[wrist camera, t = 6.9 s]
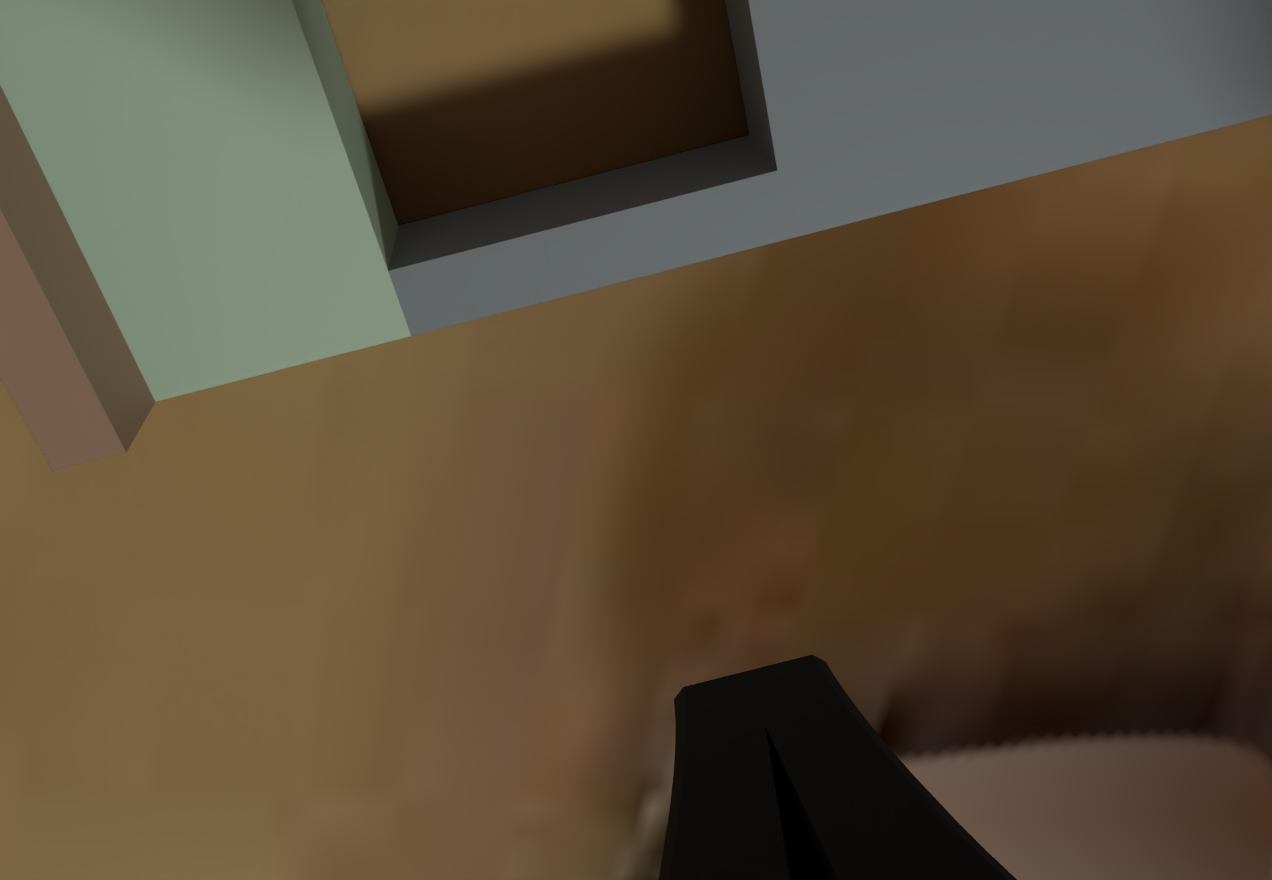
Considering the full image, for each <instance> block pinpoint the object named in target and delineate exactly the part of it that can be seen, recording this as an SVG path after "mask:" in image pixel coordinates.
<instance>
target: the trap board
mask: <svg viewBox="0 0 1272 880" xmlns="http://www.w3.org/2000/svg"><path fill="white" fill-rule="evenodd" d="M725 3H726V9H727V14H728V20H729V25H730V31H731V37H732V42H733V48H734V53H735V59H736V64H737V70H738V75H739V81H740V86H741V92H742V97H743V103H744V108H745V114H746V120H747V125H748V131H749V135H748V136H744V137H740V138H736V139H732V140H728V141H724V142H720V143H717V144H713V145H709V146H705V147H701V148H697V149H693V150H690V151H686V152H682V153H678V154H674V155H670V156H666V157H662V158H659V159H655V160H651V161H647V162H643V163H639V164H635V165H631V166H628V167H624V168H620V169H616V170H612V171H608V172H604V173H601V174H597V175H593V176H589V177H585V178H581V179H577V180H573V181H570V182H566V183H562V184H558V185H554V186H550V187H546V188H543V189H539V190H535V191H531V192H527V193H523V194H519V195H515V196H512V197H508V198H504V199H500V200H496V201H492V202H488V203H485V204H481V205H477V206H473V207H469V208H465V209H461V210H457V211H454V212H450V213H446V214H442V215H438V216H434V217H430V218H426V219H423V220H419V221H415V222H411V223H407V224H403V225H399V226H398V223H397V220H396V217H395V214H394V211H393V208H392V206H391V203H390V200H389V197H388V194H387V191H386V188H385V185H384V182H383V179H382V176H381V174H380V171H379V168H378V165H377V162H376V159H375V156H374V153H373V150H372V147H371V144H370V142H369V139H368V136H367V133H366V130H365V127H364V124H363V121H362V118H361V115H360V112H359V109H358V107H357V104H356V101H355V98H354V95H353V92H352V89H351V86H350V83H349V80H348V77H347V75H346V72H345V69H344V66H343V63H342V60H341V57H340V54H339V51H338V48H337V45H336V43H335V40H334V37H333V34H332V31H331V28H330V25H329V22H328V19H327V16H326V13H325V11H324V8H323V5H322V2H321V0H0V378H1V380H2V382H3V384H4V386H5V387H6V389H7V391H8V393H9V395H10V396H11V398H12V400H13V402H14V404H15V405H16V407H17V409H18V411H19V412H20V414H21V416H22V418H23V420H24V421H25V423H26V425H27V427H28V429H29V430H30V432H31V434H32V436H33V438H34V439H35V441H36V443H37V445H38V447H39V448H40V450H41V452H42V454H43V455H44V457H45V459H46V461H47V463H48V464H49V466H50V468H51V470H52V472H53V471H56V470H60V469H64V468H68V467H72V466H76V465H80V464H84V463H88V462H92V461H95V460H99V459H103V458H107V457H111V456H115V455H119V454H123V453H126V452H127V450H128V449H129V447H130V445H131V443H132V442H133V440H134V438H135V436H136V435H137V433H138V431H139V429H140V428H141V426H142V424H143V422H144V421H145V419H146V417H147V415H148V414H149V412H150V410H151V409H152V407H153V405H154V403H155V402H156V401H160V400H164V399H168V398H172V397H176V396H179V395H183V394H187V393H191V392H195V391H199V390H203V389H207V388H211V387H214V386H218V385H222V384H226V383H230V382H234V381H238V380H242V379H246V378H250V377H253V376H257V375H261V374H265V373H269V372H273V371H277V370H281V369H285V368H288V367H292V366H296V365H300V364H304V363H308V362H312V361H316V360H320V359H323V358H327V357H331V356H335V355H339V354H343V353H347V352H351V351H355V350H358V349H362V348H366V347H370V346H374V345H378V344H382V343H386V342H390V341H393V340H397V339H401V338H405V337H409V336H413V335H417V334H421V333H425V332H428V331H432V330H436V329H440V328H444V327H448V326H452V325H456V324H460V323H463V322H467V321H471V320H475V319H479V318H483V317H487V316H491V315H495V314H498V313H502V312H506V311H510V310H514V309H518V308H522V307H526V306H530V305H533V304H537V303H541V302H545V301H549V300H553V299H557V298H561V297H565V296H568V295H572V294H576V293H580V292H584V291H588V290H592V289H596V288H600V287H603V286H607V285H611V284H615V283H619V282H623V281H627V280H631V279H635V278H638V277H642V276H646V275H650V274H654V273H658V272H662V271H666V270H670V269H673V268H677V267H681V266H685V265H689V264H693V263H697V262H701V261H705V260H708V259H712V258H716V257H720V256H724V255H728V254H732V253H736V252H740V251H743V250H747V249H751V248H755V247H759V246H763V245H767V244H771V243H775V242H778V241H782V240H786V239H790V238H794V237H798V236H802V235H806V234H810V233H813V232H817V231H821V230H825V229H829V228H833V227H837V226H841V225H845V224H848V223H852V222H856V221H860V220H864V219H868V218H872V217H876V216H880V215H883V214H887V213H891V212H895V211H899V210H903V209H907V208H911V207H915V206H918V205H922V204H926V203H930V202H934V201H938V200H942V199H946V198H950V197H953V196H957V195H961V194H965V193H969V192H973V191H977V190H981V189H985V188H988V187H992V186H996V185H1000V184H1004V183H1008V182H1012V181H1016V180H1020V179H1023V178H1027V177H1031V176H1035V175H1039V174H1043V173H1047V172H1051V171H1055V170H1058V169H1062V168H1066V167H1070V166H1074V165H1078V164H1082V163H1086V162H1090V161H1093V160H1097V159H1101V158H1105V157H1109V156H1113V155H1117V154H1121V153H1125V152H1129V151H1132V150H1136V149H1140V148H1144V147H1148V146H1152V145H1156V144H1160V143H1164V142H1167V141H1171V140H1175V139H1179V138H1183V137H1187V136H1191V135H1195V134H1199V133H1202V132H1206V131H1210V130H1214V129H1218V128H1222V127H1226V126H1230V125H1234V124H1237V123H1241V122H1245V121H1249V120H1253V119H1257V118H1261V117H1265V116H1269V115H1272V0H725Z"/></svg>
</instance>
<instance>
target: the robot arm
mask: <svg viewBox="0 0 1272 880" xmlns="http://www.w3.org/2000/svg"><path fill="white" fill-rule="evenodd" d="M674 705H675V716H676V746H675V764H674V776H673V785H672V795H671V805H670V812H669V819H668V825H667V831H666V838H665V844H664V850H663V856H662V863H661V869H660V875H659V880H1017V879H1016V878H1014V877H1013V876H1012V875H1011V874H1010V873H1009V872H1008V871H1007V870H1006V869H1005V868H1004V867H1003V866H1002V865H1001V864H1000V863H999V862H997V861H996V860H995V859H994V858H993V857H992V856H991V855H990V854H989V853H988V852H987V851H986V850H985V849H984V848H983V847H982V846H981V845H980V844H979V843H978V842H977V841H976V840H975V839H974V838H973V837H972V836H971V835H970V834H969V833H968V832H967V831H966V830H965V829H964V828H963V827H962V826H961V825H960V824H959V823H958V822H957V821H956V820H955V819H954V818H953V817H952V816H951V815H950V814H949V813H948V812H947V811H946V809H945V808H944V807H943V806H942V805H941V804H940V803H939V802H938V801H937V800H936V799H935V798H934V797H933V796H932V795H931V794H930V792H929V791H928V790H927V789H926V788H925V787H924V786H923V785H922V784H921V783H920V782H919V781H918V780H917V779H916V778H915V777H914V776H913V774H912V773H911V772H910V771H909V770H908V769H907V768H906V766H905V765H904V764H903V763H902V762H901V761H900V760H899V759H898V757H897V756H896V755H895V754H894V753H893V752H892V750H891V749H890V748H889V747H888V746H887V744H886V743H885V742H884V741H883V740H882V738H881V737H880V736H879V735H878V734H877V732H876V731H875V730H874V729H873V728H872V726H871V725H870V724H869V723H868V721H867V720H866V719H865V718H864V716H863V715H862V714H861V712H860V711H859V710H858V709H857V707H856V706H855V705H854V703H853V702H852V701H851V699H850V698H849V697H848V695H847V694H846V692H845V691H844V690H843V688H842V687H841V685H840V684H839V682H838V681H837V679H836V678H835V676H834V675H833V673H832V672H831V670H830V668H829V667H828V665H827V663H826V662H825V661H823V660H821V659H819V658H817V657H816V656H814V655H809V656H805V657H801V658H797V659H793V660H789V661H785V662H781V663H777V664H773V665H769V666H766V667H762V668H758V669H754V670H750V671H746V672H742V673H738V674H734V675H730V676H726V677H722V678H718V679H714V680H710V681H706V682H702V683H698V684H694V685H690V686H686V687H683V688H682V690H681V691H680V692H679V694H678V695H677V696H676V698H675V699H674Z"/></svg>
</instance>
